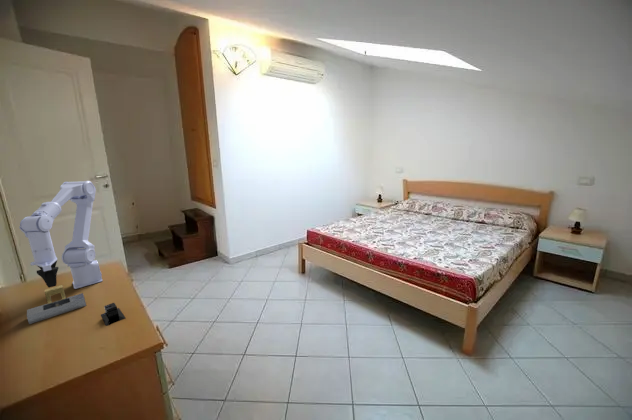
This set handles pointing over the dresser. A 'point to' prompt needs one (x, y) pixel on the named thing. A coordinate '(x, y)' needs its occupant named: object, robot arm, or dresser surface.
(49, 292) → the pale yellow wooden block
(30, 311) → the rail
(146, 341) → the dresser surface
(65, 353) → the dresser surface
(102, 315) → the black mounted block
